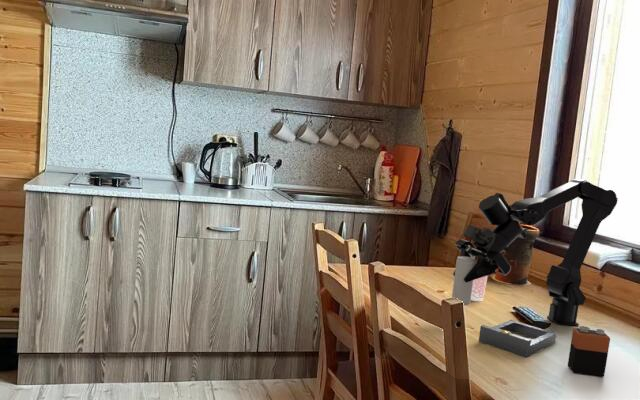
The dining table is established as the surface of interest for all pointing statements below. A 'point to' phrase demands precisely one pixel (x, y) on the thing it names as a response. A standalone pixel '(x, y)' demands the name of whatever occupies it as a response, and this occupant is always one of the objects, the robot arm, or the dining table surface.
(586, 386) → the dining table surface
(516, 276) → the vessel
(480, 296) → the beverage cup
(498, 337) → the grey shallow tray
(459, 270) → the beverage can
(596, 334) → the battery
